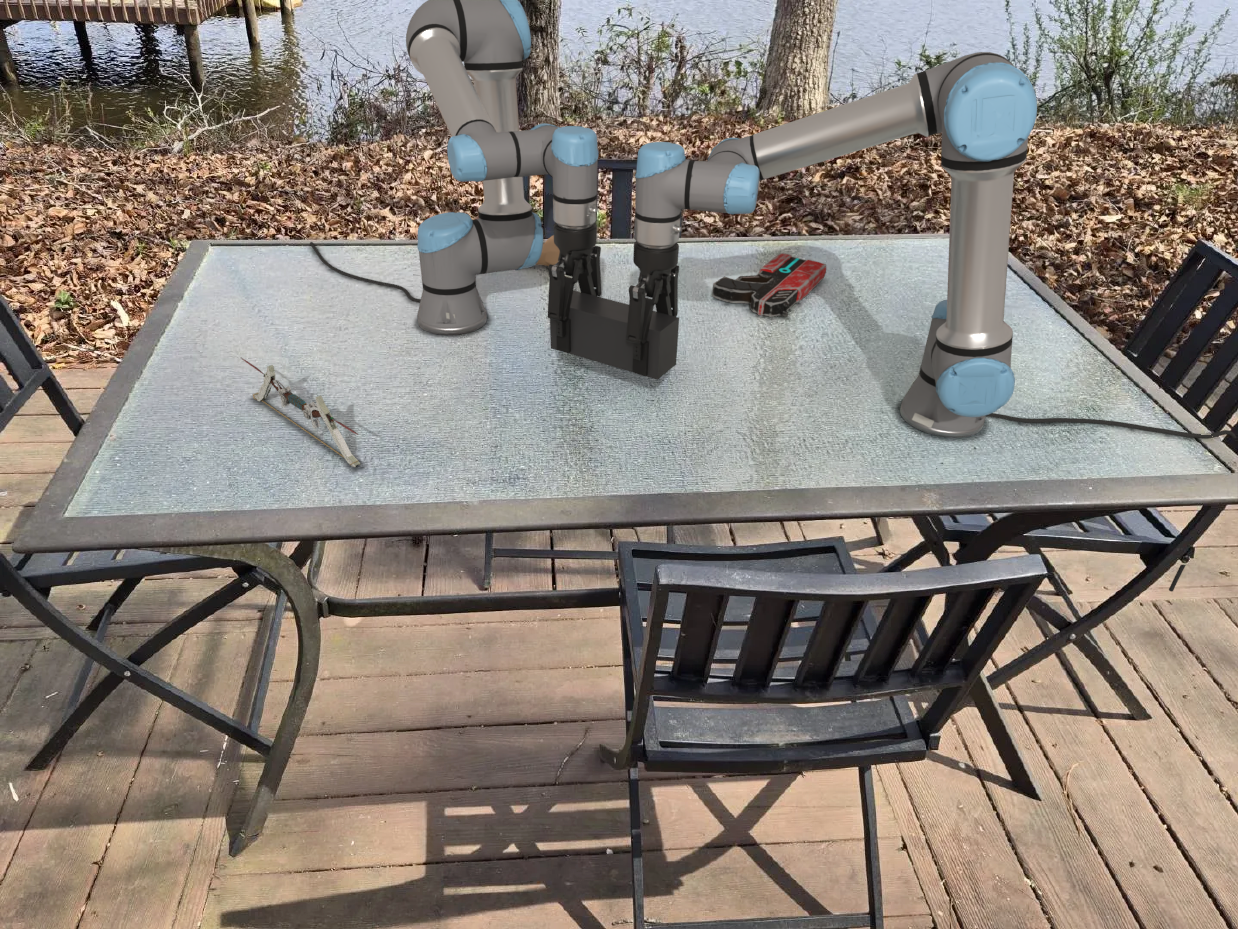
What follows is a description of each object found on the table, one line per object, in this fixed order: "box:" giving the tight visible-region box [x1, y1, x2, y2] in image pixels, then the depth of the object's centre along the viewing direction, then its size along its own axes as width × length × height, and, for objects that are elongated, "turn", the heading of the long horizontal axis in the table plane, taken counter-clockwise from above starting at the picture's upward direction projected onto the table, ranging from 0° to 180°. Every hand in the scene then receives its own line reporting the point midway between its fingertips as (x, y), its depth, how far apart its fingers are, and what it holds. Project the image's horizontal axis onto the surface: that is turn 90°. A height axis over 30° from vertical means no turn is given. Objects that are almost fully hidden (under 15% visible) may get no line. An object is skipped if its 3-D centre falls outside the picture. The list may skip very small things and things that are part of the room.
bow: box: [240, 356, 362, 468], centre depth 154 cm, size 39×2×10 cm, turn 47°
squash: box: [534, 234, 560, 267], centre depth 224 cm, size 11×20×9 cm, turn 90°
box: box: [549, 289, 680, 381], centre depth 159 cm, size 23×7×9 cm, turn 59°
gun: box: [711, 252, 827, 318], centre depth 215 cm, size 4×31×19 cm
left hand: (575, 342), depth 165 cm, fingers closed on box, 7 cm apart
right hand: (650, 365), depth 158 cm, fingers closed on box, 7 cm apart
